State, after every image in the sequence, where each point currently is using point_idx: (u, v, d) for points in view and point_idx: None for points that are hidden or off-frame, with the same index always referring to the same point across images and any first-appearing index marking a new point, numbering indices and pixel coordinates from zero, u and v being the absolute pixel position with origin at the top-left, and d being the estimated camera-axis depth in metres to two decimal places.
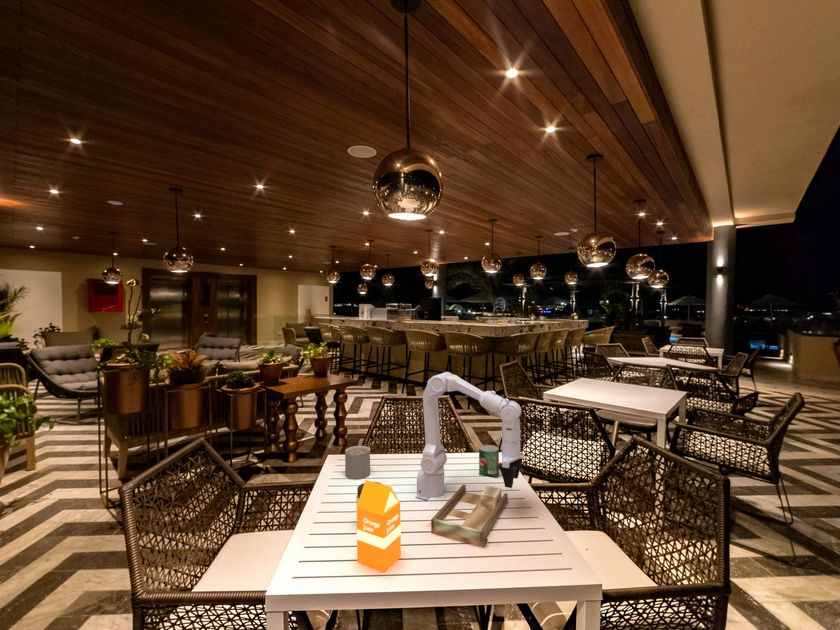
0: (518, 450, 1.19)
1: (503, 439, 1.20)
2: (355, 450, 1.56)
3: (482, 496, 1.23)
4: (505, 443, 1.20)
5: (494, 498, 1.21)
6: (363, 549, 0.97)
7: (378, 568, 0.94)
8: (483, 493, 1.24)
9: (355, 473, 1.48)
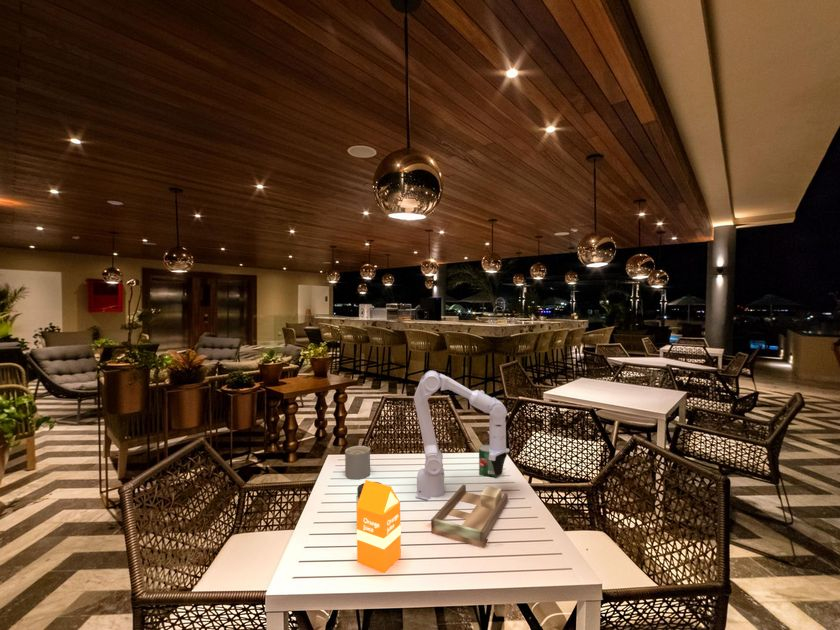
0: (504, 444, 1.30)
1: (492, 435, 1.31)
2: (355, 450, 1.56)
3: (482, 496, 1.23)
4: (492, 438, 1.31)
5: (494, 498, 1.21)
6: (363, 549, 0.97)
7: (378, 568, 0.94)
8: (483, 493, 1.24)
9: (355, 473, 1.48)
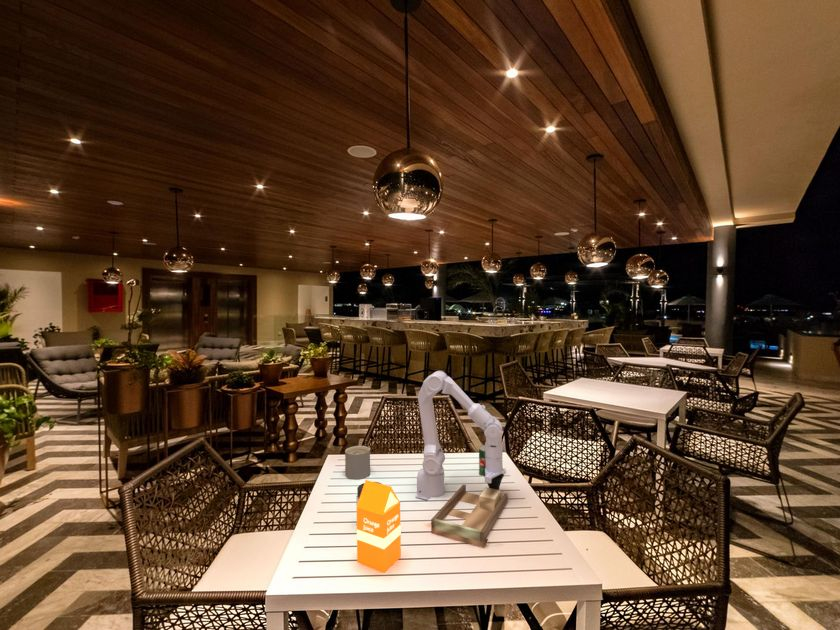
0: (500, 466, 1.26)
1: (487, 456, 1.27)
2: (355, 450, 1.56)
3: (481, 498, 1.21)
4: (488, 459, 1.27)
5: (493, 500, 1.20)
6: (363, 549, 0.97)
7: (378, 568, 0.94)
8: (482, 495, 1.22)
9: (355, 473, 1.48)
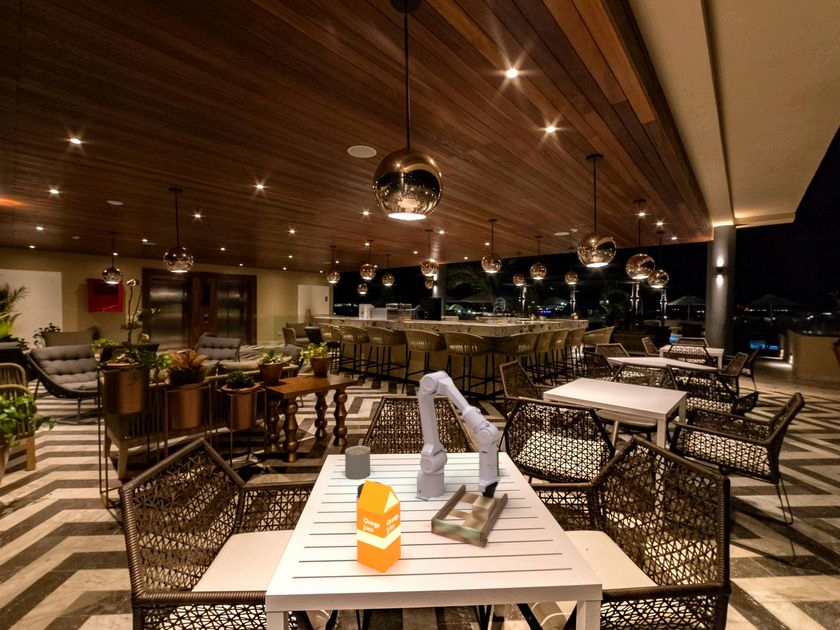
0: (494, 473, 1.20)
1: (479, 462, 1.22)
2: (355, 450, 1.56)
3: (474, 507, 1.16)
4: (482, 466, 1.21)
5: (486, 509, 1.14)
6: (363, 549, 0.97)
7: (378, 568, 0.94)
8: (475, 504, 1.16)
9: (355, 473, 1.48)
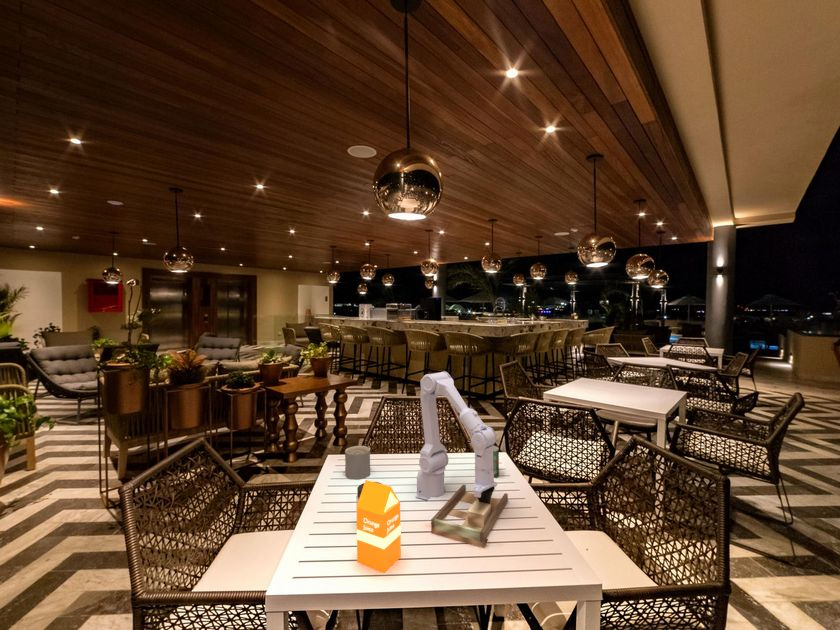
0: (491, 478, 1.17)
1: (475, 465, 1.19)
2: (355, 450, 1.56)
3: (469, 513, 1.12)
4: (478, 471, 1.17)
5: (482, 515, 1.10)
6: (363, 549, 0.97)
7: (378, 568, 0.94)
8: (470, 510, 1.13)
9: (355, 473, 1.48)
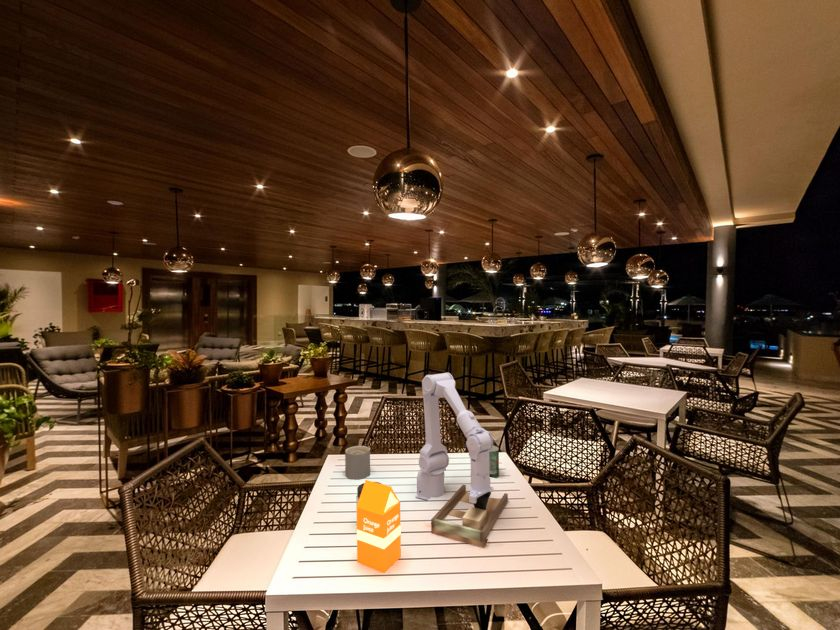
0: (487, 483, 1.13)
1: None
2: (355, 450, 1.56)
3: (464, 519, 1.08)
4: (473, 475, 1.14)
5: (477, 522, 1.07)
6: (363, 549, 0.97)
7: (378, 568, 0.94)
8: (465, 516, 1.09)
9: (355, 473, 1.48)
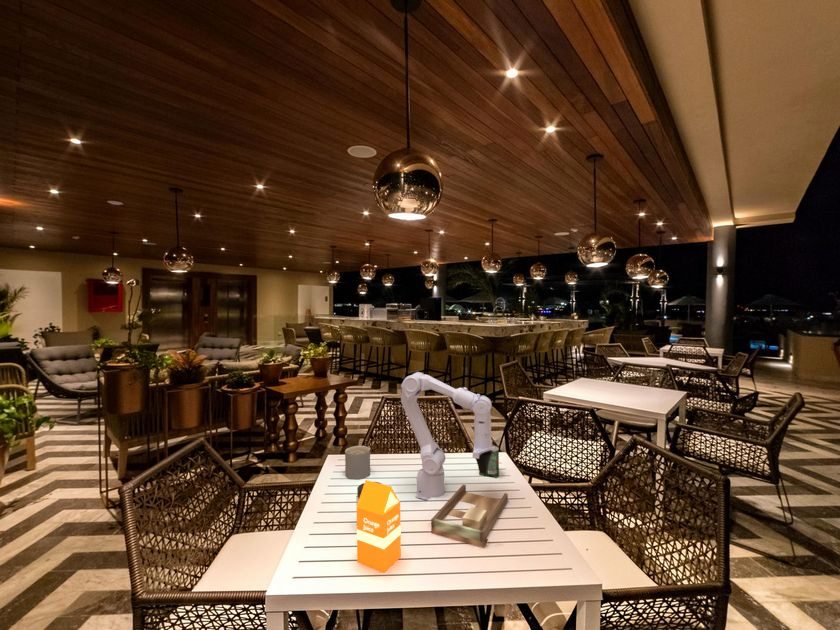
0: (489, 442, 1.26)
1: (475, 432, 1.27)
2: (355, 450, 1.56)
3: (464, 519, 1.08)
4: (476, 435, 1.27)
5: (477, 522, 1.07)
6: (363, 549, 0.97)
7: (378, 568, 0.94)
8: (465, 516, 1.09)
9: (355, 473, 1.48)
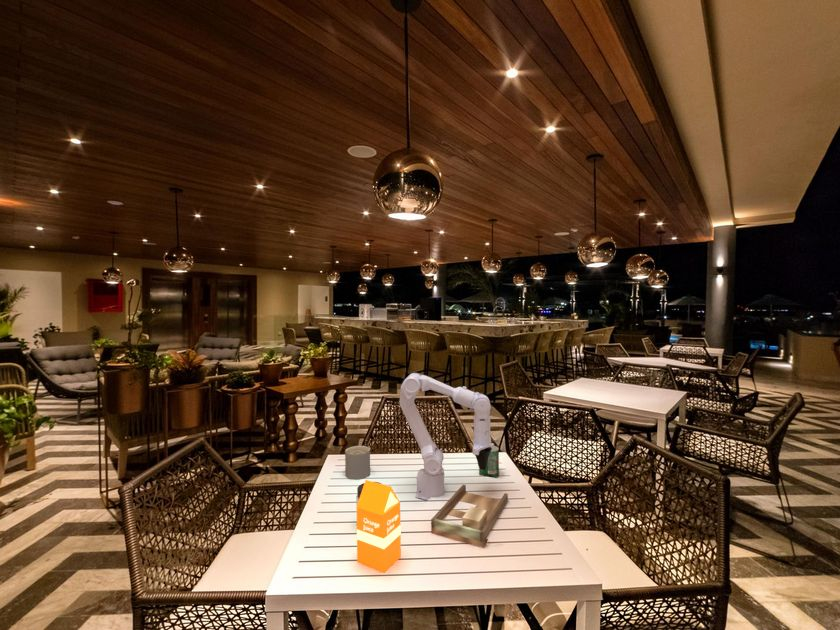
0: (488, 439, 1.29)
1: (476, 430, 1.30)
2: (355, 450, 1.56)
3: (464, 519, 1.08)
4: (476, 432, 1.30)
5: (477, 522, 1.07)
6: (363, 549, 0.97)
7: (378, 568, 0.94)
8: (465, 516, 1.09)
9: (355, 473, 1.48)
